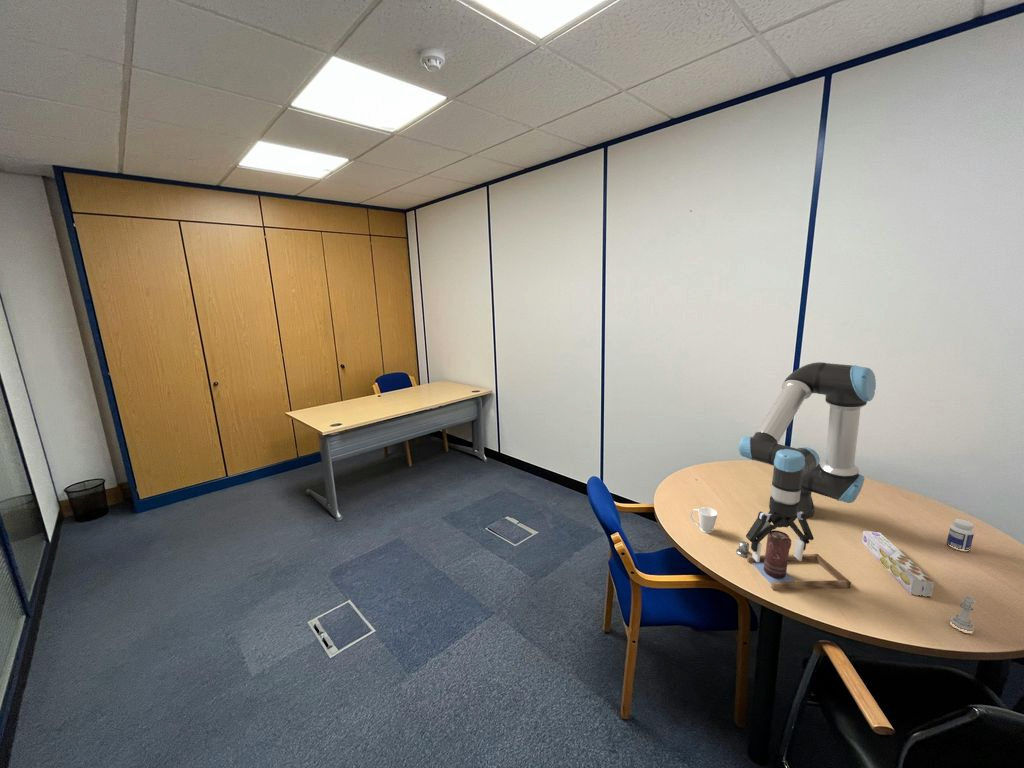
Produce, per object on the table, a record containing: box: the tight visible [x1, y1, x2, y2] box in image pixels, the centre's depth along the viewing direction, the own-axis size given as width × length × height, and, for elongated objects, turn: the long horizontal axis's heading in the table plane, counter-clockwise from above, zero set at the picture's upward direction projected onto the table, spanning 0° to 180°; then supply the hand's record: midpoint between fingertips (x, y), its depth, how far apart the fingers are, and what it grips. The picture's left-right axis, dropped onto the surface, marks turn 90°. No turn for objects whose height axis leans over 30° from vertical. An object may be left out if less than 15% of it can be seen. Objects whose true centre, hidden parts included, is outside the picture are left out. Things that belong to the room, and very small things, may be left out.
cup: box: [689, 506, 718, 534], centre depth 158 cm, size 7×10×8 cm
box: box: [861, 530, 935, 597], centre depth 133 cm, size 27×5×6 cm, turn 165°
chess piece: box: [950, 595, 976, 631], centre depth 109 cm, size 4×4×10 cm
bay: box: [746, 553, 852, 591], centre depth 132 cm, size 24×14×2 cm, turn 90°
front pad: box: [751, 562, 796, 585], centre depth 132 cm, size 8×11×1 cm
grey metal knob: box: [735, 540, 752, 559], centre depth 142 cm, size 4×4×4 cm
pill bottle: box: [946, 518, 975, 550], centre depth 142 cm, size 6×6×10 cm
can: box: [764, 529, 792, 579], centre depth 130 cm, size 6×6×14 cm
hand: (776, 559), depth 131 cm, fingers open, 13 cm apart
